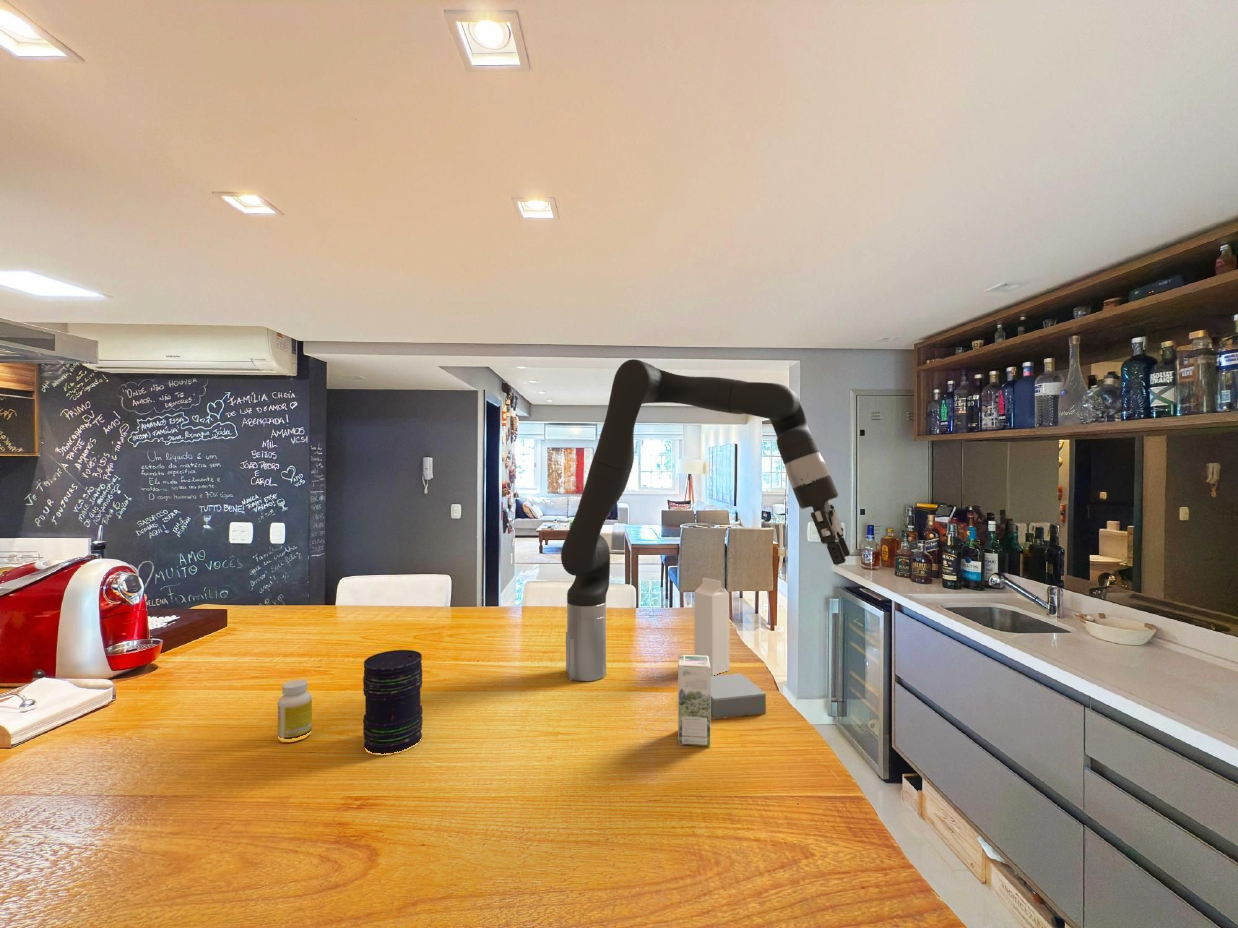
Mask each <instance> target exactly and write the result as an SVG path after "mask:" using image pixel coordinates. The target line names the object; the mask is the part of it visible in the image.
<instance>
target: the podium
mask: <svg viewBox="0 0 1238 928" xmlns="http://www.w3.org/2000/svg"><path fill="white" fill-rule="evenodd" d="M766 699H767V697H766V692H765V691H763V690H762V689H761V688H760V687H759V686H758V685H756V684H755V683H754V682H753V681H751V680H750V679H749V678H748V677H746V675H744V674H743V673H733V674H718V675H715V676H711V718H712V717H713V718H714V719H713V718H712V719H713V720H718V719H717V718H721V719H725V718H724V717H730V718H736V717H735V716H739V717H744V716H743V715H748V716H755V715H756V714H758V715H766V714H767V713H766V712H767V709H766V708H767V705H766V703H767V702H766Z"/></svg>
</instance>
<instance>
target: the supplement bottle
mask: <svg viewBox="0 0 1238 928" xmlns="http://www.w3.org/2000/svg"><path fill="white" fill-rule="evenodd" d="M281 690H282V692H281V693H282V694H283V695H281V697H279V698H278V701H277V737H278V736H279V737H280V738H283V739H292V738H298V737H300V736H303V735H306V734H307V733H309V732H310V731H311V730H312V729H313V726H312V725H313V724H312V723H313V722H312V721H313V719H312V716H313V715H312V713H313V710H312V708H313V707H312V704H313V703H312V702H313V699H312V698H313V697H312V693H311V692H310V691H307V690H308V680H306V679H294V680H290V681H286V682H285V683H283V684H282V689H281Z"/></svg>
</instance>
